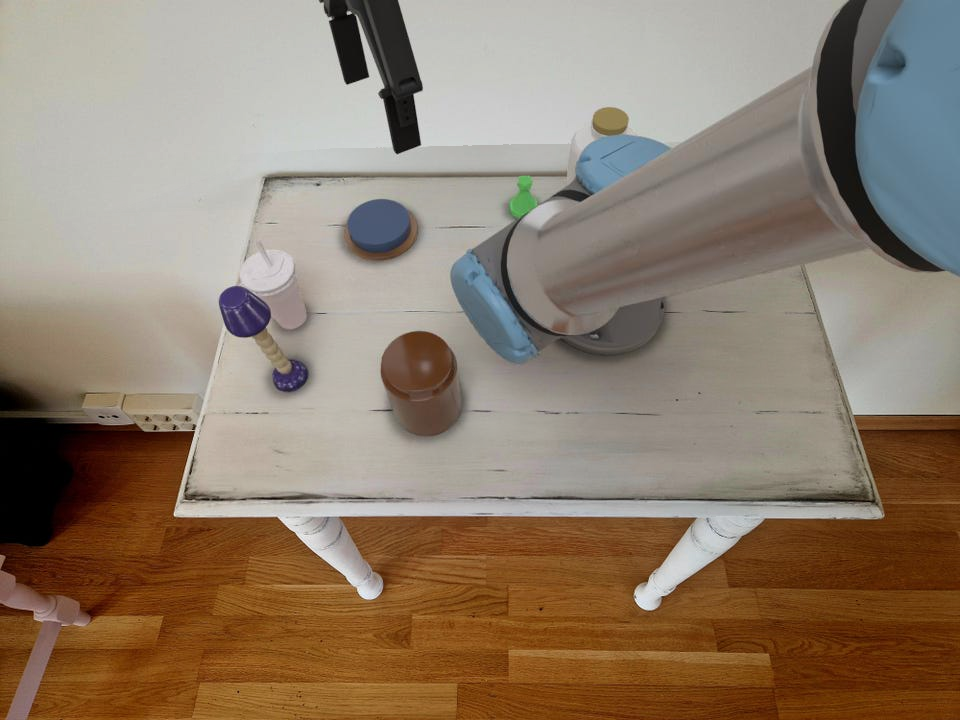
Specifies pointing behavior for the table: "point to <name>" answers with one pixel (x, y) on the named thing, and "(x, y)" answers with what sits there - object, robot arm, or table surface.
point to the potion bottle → (596, 134)
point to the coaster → (388, 254)
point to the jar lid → (379, 225)
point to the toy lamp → (260, 334)
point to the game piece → (523, 198)
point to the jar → (422, 383)
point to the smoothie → (275, 285)
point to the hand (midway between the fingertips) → (380, 112)
